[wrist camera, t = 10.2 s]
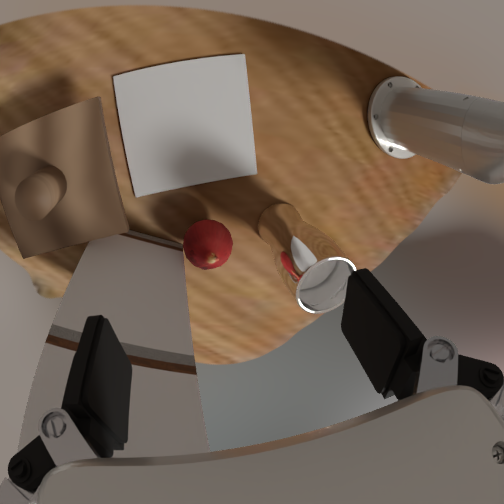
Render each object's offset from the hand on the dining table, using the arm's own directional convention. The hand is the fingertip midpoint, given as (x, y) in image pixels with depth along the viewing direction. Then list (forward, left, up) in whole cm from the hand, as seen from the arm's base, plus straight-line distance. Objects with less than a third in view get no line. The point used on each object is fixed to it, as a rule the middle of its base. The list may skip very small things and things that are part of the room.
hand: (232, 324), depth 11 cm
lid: (+15, -3, -21) cm, 26 cm away
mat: (0, -5, -27) cm, 28 cm away
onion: (0, +9, -27) cm, 29 cm away
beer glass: (-10, +10, -27) cm, 31 cm away
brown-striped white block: (+11, +12, -27) cm, 31 cm away
